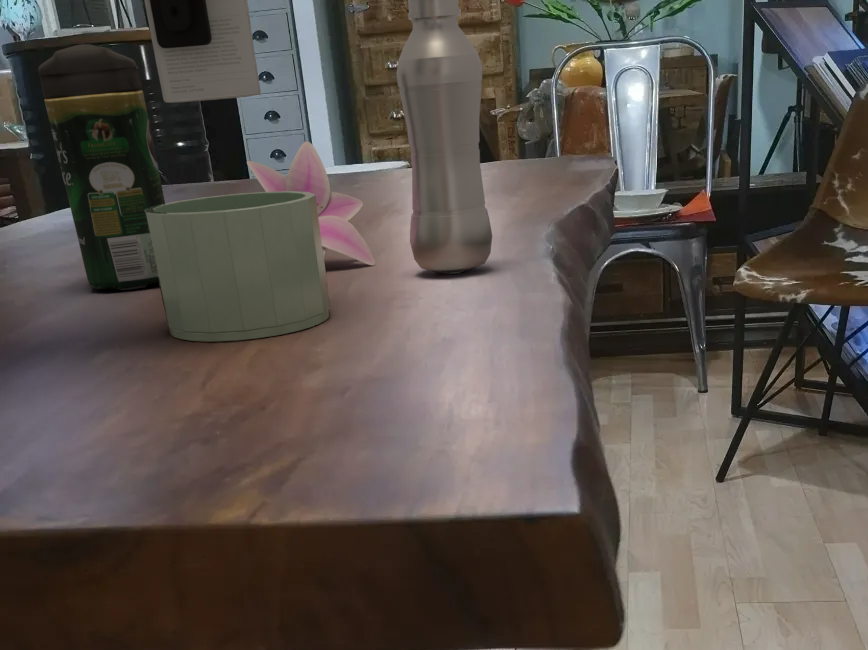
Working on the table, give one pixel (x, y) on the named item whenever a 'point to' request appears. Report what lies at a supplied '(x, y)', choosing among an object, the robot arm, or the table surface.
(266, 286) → the green flower pot
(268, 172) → the lily
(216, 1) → the white cardboard box
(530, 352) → the table surface
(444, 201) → the plastic bottle
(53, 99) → the coffee jar
